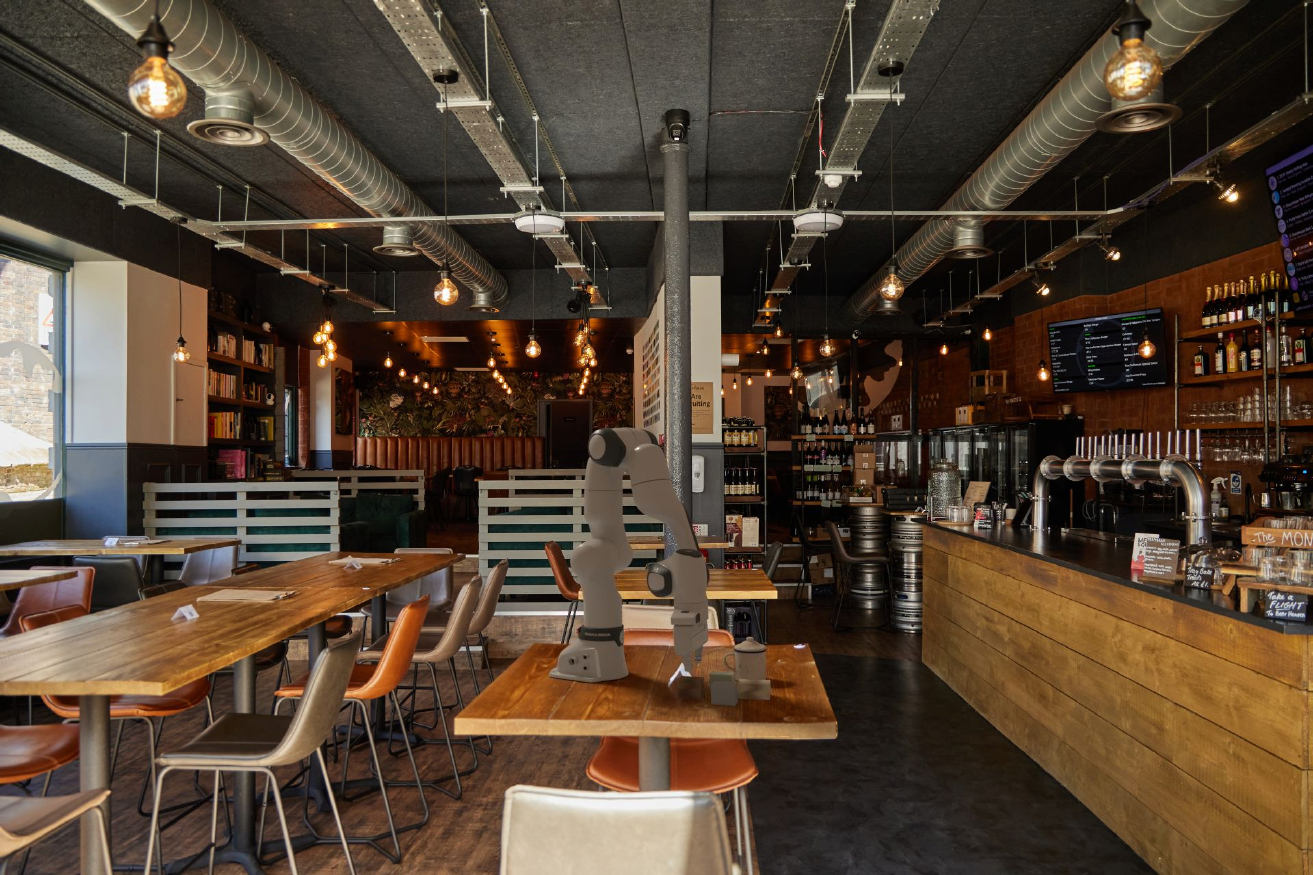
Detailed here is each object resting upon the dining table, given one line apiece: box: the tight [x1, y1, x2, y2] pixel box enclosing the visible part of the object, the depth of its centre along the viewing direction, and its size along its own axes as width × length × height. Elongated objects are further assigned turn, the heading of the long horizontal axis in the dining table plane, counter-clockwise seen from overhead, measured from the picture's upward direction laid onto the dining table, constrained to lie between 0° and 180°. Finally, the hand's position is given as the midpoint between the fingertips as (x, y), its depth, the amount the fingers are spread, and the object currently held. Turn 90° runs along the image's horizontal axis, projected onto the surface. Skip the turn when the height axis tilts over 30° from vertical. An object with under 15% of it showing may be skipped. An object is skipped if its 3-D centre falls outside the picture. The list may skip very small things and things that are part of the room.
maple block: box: [737, 679, 772, 701], centre depth 221 cm, size 8×5×4 cm, turn 80°
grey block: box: [710, 681, 739, 707], centre depth 215 cm, size 6×4×5 cm, turn 72°
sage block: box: [708, 671, 736, 694], centre depth 225 cm, size 6×4×5 cm, turn 72°
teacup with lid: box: [723, 636, 768, 682], centre depth 239 cm, size 12×9×12 cm
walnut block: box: [677, 675, 705, 701], centre depth 221 cm, size 6×4×5 cm, turn 72°
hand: (693, 666), depth 220 cm, fingers open, 8 cm apart
